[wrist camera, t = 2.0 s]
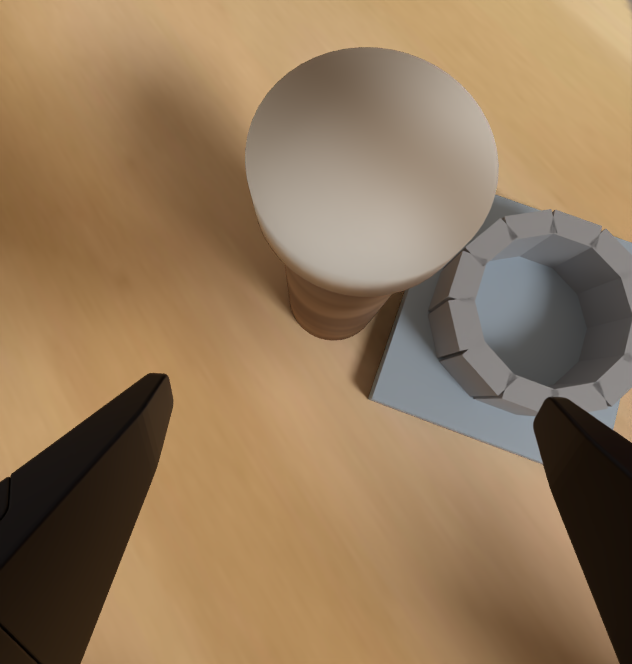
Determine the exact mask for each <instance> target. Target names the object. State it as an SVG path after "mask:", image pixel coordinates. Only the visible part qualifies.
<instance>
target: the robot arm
mask: <svg viewBox="0 0 632 664" xmlns="http://www.w3.org/2000/svg"><path fill="white" fill-rule="evenodd" d="M172 409H173V395H172V390H171V385H170V380H169V377H168V375H166V374H162V373H149V374H147V375H146V376H144V377H143V378H141V379H140V380H139V381H137V382H136V383H135V384H133V385H132V386H131V387H129V388H128V389H126V390H125V391H124V392H122V393H121V394H120V395H118V396H117V397H116V398H114V399H113V400H111V401H110V402H109V403H107V404H106V405H105V406H103V407H102V408H101V409H99V410H98V411H96V412H95V413H94V414H92V415H91V416H90V417H88V418H87V419H86V420H84V421H83V422H81V423H80V424H79V425H77V426H76V427H75V428H73V429H72V430H71V431H69V432H68V433H66V434H65V435H64V436H62V437H61V438H60V439H58V440H57V441H56V442H54V443H53V444H52V445H50V446H49V447H47V448H46V449H45V450H43V451H42V452H41V453H39V454H38V455H37V456H35V457H34V458H32V459H31V460H30V461H28V462H27V463H26V464H24V465H23V466H22V467H20V468H19V469H17V470H16V471H15V472H13V473H12V474H11V476H10V477H6V478H5V479H4V480H2V481H1V482H0V664H81V661H82V659H83V656H84V654H85V651H86V648H87V646H88V643H89V641H90V638H91V636H92V633H93V631H94V628H95V625H96V623H97V620H98V618H99V615H100V613H101V610H102V607H103V605H104V602H105V600H106V597H107V595H108V592H109V590H110V587H111V584H112V582H113V579H114V577H115V574H116V572H117V569H118V567H119V564H120V561H121V559H122V556H123V554H124V551H125V549H126V546H127V543H128V541H129V538H130V536H131V533H132V531H133V528H134V526H135V523H136V520H137V518H138V515H139V513H140V510H141V508H142V505H143V503H144V500H145V497H146V495H147V492H148V490H149V487H150V485H151V482H152V480H153V477H154V474H155V471H156V469H157V466H158V462H159V459H160V455H161V451H162V447H163V443H164V440H165V436H166V432H167V428H168V424H169V420H170V417H171V413H172ZM533 430H534V434H535V437H536V441H537V444H538V448H539V451H540V455H541V459H542V462H543V466H544V469H545V473H546V477H547V480H548V483H549V486H550V489H551V492H552V495H553V497H554V500H555V503H556V505H557V508H558V510H559V513H560V515H561V518H562V520H563V523H564V525H565V528H566V530H567V533H568V535H569V538H570V540H571V543H572V545H573V548H574V550H575V553H576V555H577V558H578V560H579V563H580V565H581V568H582V570H583V573H584V575H585V578H586V580H587V583H588V585H589V588H590V590H591V593H592V595H593V598H594V600H595V603H596V606H597V608H598V611H599V613H600V616H601V618H602V621H603V623H604V626H605V628H606V631H607V633H608V636H609V638H610V641H611V643H612V646H613V648H614V651H615V653H616V656H617V658H618V661H619V663H620V664H632V443H631V442H630V441H628V440H627V439H625V438H624V437H623V436H621V435H620V434H618V433H617V432H615V431H614V430H612V429H611V428H610V427H608V426H607V425H605V424H604V423H602V422H601V421H599V420H598V419H597V418H595V417H594V416H592V415H591V414H589V413H588V412H587V411H585V410H584V409H582V408H581V407H579V406H578V405H576V404H575V403H574V402H572V401H571V400H569V399H567V398H564V397H548V398H546V399H545V400H544V402H543V404H542V406H541V408H540V409H539V411H538V413H537V415H536V417H535V418H534V422H533Z"/></svg>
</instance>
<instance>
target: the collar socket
mask: <svg viewBox="0 0 632 664" xmlns="http://www.w3.org/2000/svg"><path fill="white" fill-rule="evenodd" d="M601 228H602V226H600V225H597V224H594V223H592V222H589V221H586V220H583V219H580V218H578V217H575V216H572V215H569V214H566V213H563V212H561V211H558V210H554V211H553V212H552V211H551V209H549V210H543V211H540V210H537V209H535V208H532V207H529V206H526V205H523V204H520V203H518V202H515V201H512V200H509V199H506V198H504V197H501V196H498V195H495V197H494V200H493V203H492V206H491V209H490V211H489V213H488V215H487V217H486V219H485V221H484V223H483V224H482V226H481V227H480V229H479V230H478V231H477V233H476V234H475V236H474V237H473V238H472V239H471V240H470V241H469V242H468V243H467V244H466V245H465V246H464V247H463V248H462V249H461V250H460V251H459V252H458V253H457V254H456V255H455V256H454V257H453V258H452V259H451V260H450V261H449V262H448V263H447V264H446V265H445V266H444V267H443V268H442V269H440V270H439V271H438V272H437V273H435V274H434V275H433V276H432V277H430V278H429V279H427V280H425V281H424V282H422V283H420V284H419V285H417V286H414V287H412V288H409V289H407V290H405V292H404V295H403V298H402V301H401V304H400V307H399V310H398V313H397V316H396V319H395V321H394V324H393V327H392V330H391V333H390V336H389V339H388V342H387V345H386V348H385V351H384V354H383V357H382V360H381V362H380V365H379V368H378V371H377V374H376V377H375V380H374V383H373V386H372V389H371V392H370V395H369V398H368V399H369V400H372V401H374V402H377V403H380V404H382V405H385V406H388V407H390V408H393V409H396V410H398V411H401V412H404V413H406V414H409V415H412V416H414V417H417V418H420V419H422V420H425V421H428V422H430V423H433V424H436V425H438V426H441V427H444V428H446V429H449V430H452V431H455V432H457V433H460V434H463V435H465V436H468V437H471V438H473V439H476V440H479V441H481V442H484V443H487V444H489V445H492V446H495V447H497V448H500V449H503V450H505V451H508V452H511V453H513V454H516V455H519V456H521V457H524V458H527V459H529V460H532V461H535V462H537V463H540V464H543V462H542V459H541V455H540V451H539V448H538V444H537V441H536V437H535V434H534V430H533V422H534V418H535V417H536V415H537V413H538V411H539V409H540V408H541V406H542V404H543V402H544V400H545V399H546V398H548V397H564V398H567V399H569V400H571V401H572V402H574V403H575V404H576V405H578V406H579V407H581V408H582V409H584V410H585V411H587V412H588V413H589V414H591V415H592V416H594V417H595V418H597V419H598V420H599V421H601V422H602V423H604V424H605V425H607V426H608V427H610V428H611V429H612V430H613V428H614V423H615V419H616V415H617V410H618V406H619V402H620V398H621V397H622V396H623V395H624V394H626V393H627V392H628V391H629V390H630V389H631V388H632V243H631V242H628V241H625V240H622V239H619V238H617V237H614V236H613V235H612V234H611V233H610V232H609V231H608V230H607V229H605V230H603V231H601Z"/></svg>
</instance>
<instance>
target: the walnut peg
mask: <svg viewBox="0 0 632 664" xmlns="http://www.w3.org/2000/svg"><path fill="white" fill-rule="evenodd" d="M498 166H499V165H498V155H497V148H496V144H495V140H494V136H493V133H492V131H491V128H490V126H489V123H488V121H487V119H486V117H485V115H484V113H483V112H482V110H481V108H480V107H479V105H478V104H477V103H476V101H475V100H474V98H473V97H472V96H471V95H470V94H469V93H468V91H467V90H466V89H465V88H464V87H463V86H462V85H461V84H460V83H459V82H457V81H456V80H455V79H454V78H453V77H451V76H450V75H449V74H448V73H446V72H445V71H443V70H441V69H440V68H438V67H437V66H435V65H433V64H431V63H429V62H427V61H425V60H423V59H421V58H418V57H416V56H413V55H410V54H407V53H404V52H400V51H395V50H391V49H383V48H370V47H359V48H349V49H342V50H338V51H333V52H329V53H326V54H323V55H320V56H318V57H315V58H313V59H311V60H309V61H307V62H305V63H303V64H301V65H299V66H298V67H296V68H295V69H293V70H292V71H290V72H289V73H287V74H286V75H285V76H284V77H283V78H282V79H281V80H279V81H278V82H277V83H276V84H275V85H274V87H273V88H272V89H271V90H270V91H269V92H268V93H267V95H266V96H265V98H264V99H263V101H262V102H261V104H260V105H259V107H258V109H257V111H256V113H255V115H254V117H253V119H252V122H251V126H250V129H249V132H248V136H247V142H246V148H245V167H246V175H247V181H248V185H249V189H250V193H251V197H252V201H253V205H254V209H255V212H256V216H257V220H258V223H259V226H260V228H261V230H262V233H263V235H264V237H265V239H266V240H267V242H268V244H269V245H270V247H271V248H272V250H273V251H274V252H275V253H276V255H277V256H278V257H279V258H280V260H281V261H282V262H283V263H285V269H286V276H287V284H288V291H289V298H290V305H291V309H292V312H293V315H294V317H295V319H296V320H297V322H298V323H299V324H300V326H301V327H302V328H303V329H304V330H306V331H307V332H308V333H310V334H312V335H313V336H316V337H318V338H321V339H325V340H342V339H346V338H349V337H351V336H354V335H355V334H357V333H359V332H360V331H361V330H362V329H363V328H364V327H365V326H366V325H367V324H368V323H369V322H370V320H371V319H372V318H373V317H374V316H375V314H376V313H377V312H378V311H379V309H380V308H381V307H382V306H383V305H384V303H385V302H386V301H387V300H388V299H389V297H390V296H391V295H392V294H394V293H398V292H401V291H405V290H407V289H409V288H412V287H414V286H417V285H419V284H420V283H422V282H424V281H425V280H427V279H429V278H430V277H432V276H433V275H434V274H435V273H437V272H438V271H439V270H440V269H442V268H443V267H444V266H445V265H446V264H447V263H448V262H449V261H450V260H451V259H452V258H453V257H454V256H455V255H456V254H457V253H458V252H459V251H460V250H461V249H462V248H463V247H464V246H465V245H466V244H467V243H468V242H469V241H470V240H471V239H472V238H473V237H474V236H475V234H476V233H477V231H478V230H479V229H480V227H481V226H482V224H483V223H484V221H485V219H486V217H487V215H488V213H489V211H490V209H491V206H492V203H493V200H494V197H495V193H496V188H497V183H498Z"/></svg>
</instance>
